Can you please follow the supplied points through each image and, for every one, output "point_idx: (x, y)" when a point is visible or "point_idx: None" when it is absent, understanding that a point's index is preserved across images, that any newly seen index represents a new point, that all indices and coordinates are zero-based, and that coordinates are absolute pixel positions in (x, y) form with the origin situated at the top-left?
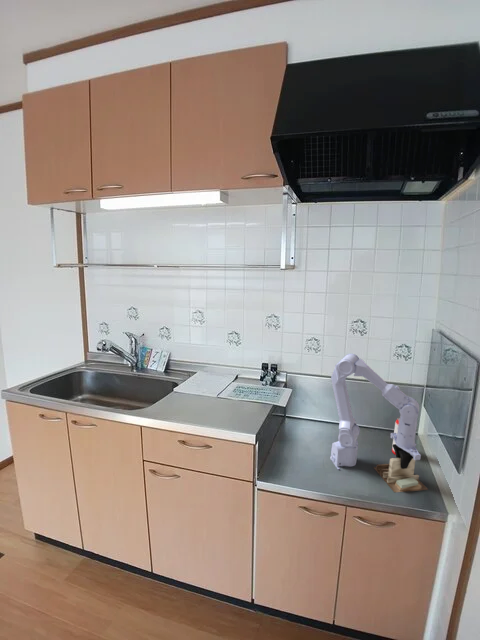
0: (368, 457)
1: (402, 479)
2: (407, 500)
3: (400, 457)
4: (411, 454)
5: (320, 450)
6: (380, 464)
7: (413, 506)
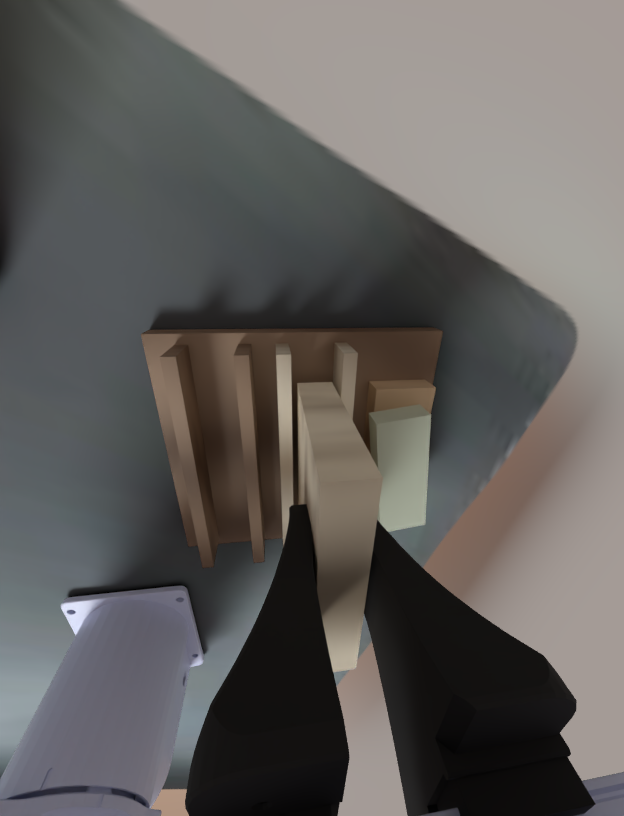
0: (50, 516)
1: (380, 499)
2: (446, 477)
3: (381, 673)
4: (613, 811)
5: (37, 690)
6: (200, 549)
7: (486, 471)
